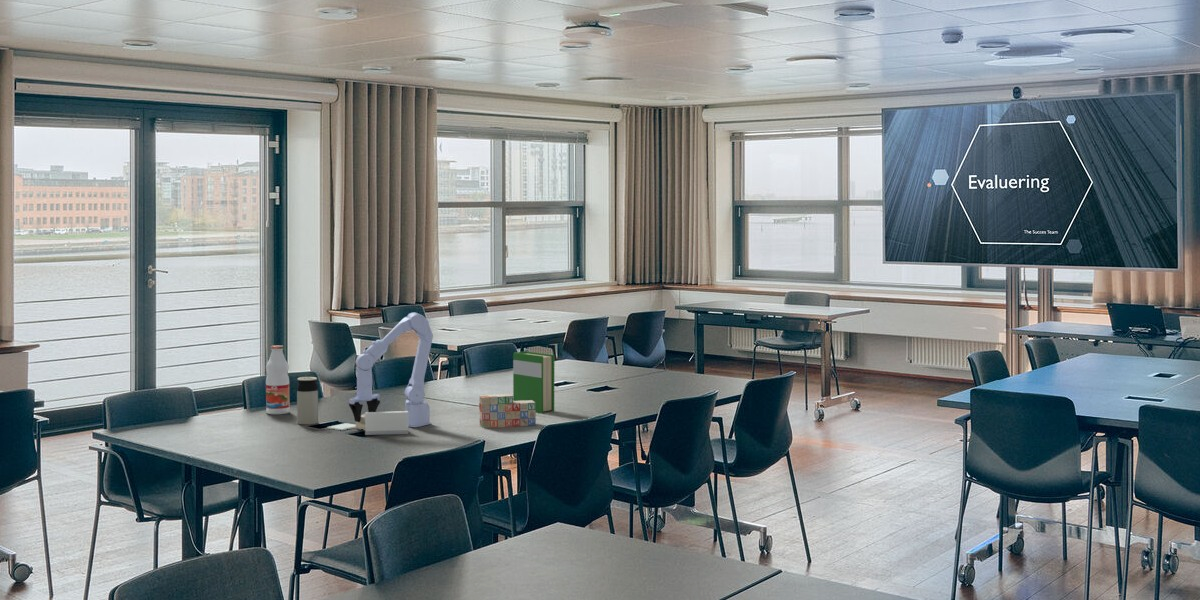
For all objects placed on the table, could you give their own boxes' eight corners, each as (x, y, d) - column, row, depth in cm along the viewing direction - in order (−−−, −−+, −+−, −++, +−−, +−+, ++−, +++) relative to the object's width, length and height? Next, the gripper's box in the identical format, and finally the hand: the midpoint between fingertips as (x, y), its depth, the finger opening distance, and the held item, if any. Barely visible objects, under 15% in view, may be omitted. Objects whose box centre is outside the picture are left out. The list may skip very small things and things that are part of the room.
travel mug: (312, 425, 447) (312, 379, 445) (293, 424, 448) (293, 379, 447) (321, 421, 454) (321, 377, 453) (303, 421, 456) (302, 376, 455)
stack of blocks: (532, 423, 455) (532, 392, 454) (535, 425, 449) (535, 394, 448) (479, 425, 449) (479, 394, 448) (481, 428, 443) (481, 396, 442)
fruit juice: (293, 411, 479) (292, 344, 477) (284, 415, 469) (283, 347, 467) (272, 410, 480) (271, 344, 478) (262, 414, 471) (261, 346, 469)
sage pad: (345, 424, 449) (345, 423, 449) (360, 426, 444) (360, 425, 444) (326, 428, 440) (326, 427, 440) (341, 430, 436) (341, 429, 436)
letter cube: (364, 427, 445) (364, 414, 444) (374, 428, 442) (374, 415, 442) (355, 428, 440) (355, 416, 440) (365, 430, 438) (365, 417, 437)
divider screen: (365, 434, 428) (365, 413, 427) (365, 432, 433) (365, 411, 432) (408, 433, 431) (408, 412, 430) (408, 431, 436) (408, 410, 435)
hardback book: (554, 411, 481) (554, 354, 480) (541, 413, 476) (541, 356, 474) (526, 406, 494) (526, 351, 492) (513, 408, 488) (513, 352, 487)
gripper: (370, 382, 448) (370, 416, 449) (343, 386, 436) (343, 421, 437) (383, 383, 444) (383, 418, 445) (356, 388, 432) (357, 423, 433)
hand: (364, 420), depth 441 cm, fingers open, 7 cm apart
